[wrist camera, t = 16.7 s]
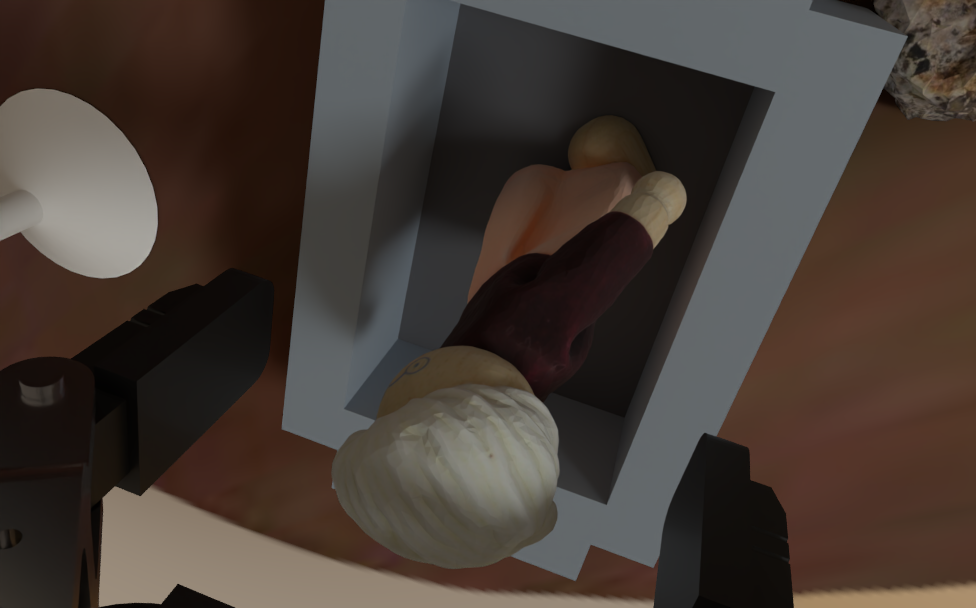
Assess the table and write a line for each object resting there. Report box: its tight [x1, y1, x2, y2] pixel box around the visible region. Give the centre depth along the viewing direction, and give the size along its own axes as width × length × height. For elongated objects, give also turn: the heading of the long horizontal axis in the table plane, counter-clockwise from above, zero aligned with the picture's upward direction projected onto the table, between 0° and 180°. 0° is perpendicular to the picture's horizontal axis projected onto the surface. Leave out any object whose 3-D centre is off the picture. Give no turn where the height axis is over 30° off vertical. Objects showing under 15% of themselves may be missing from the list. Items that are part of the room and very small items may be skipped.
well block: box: [282, 0, 908, 581], centre depth 20 cm, size 11×17×4 cm, turn 168°
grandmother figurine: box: [332, 115, 687, 569], centre depth 15 cm, size 8×4×13 cm, turn 153°
